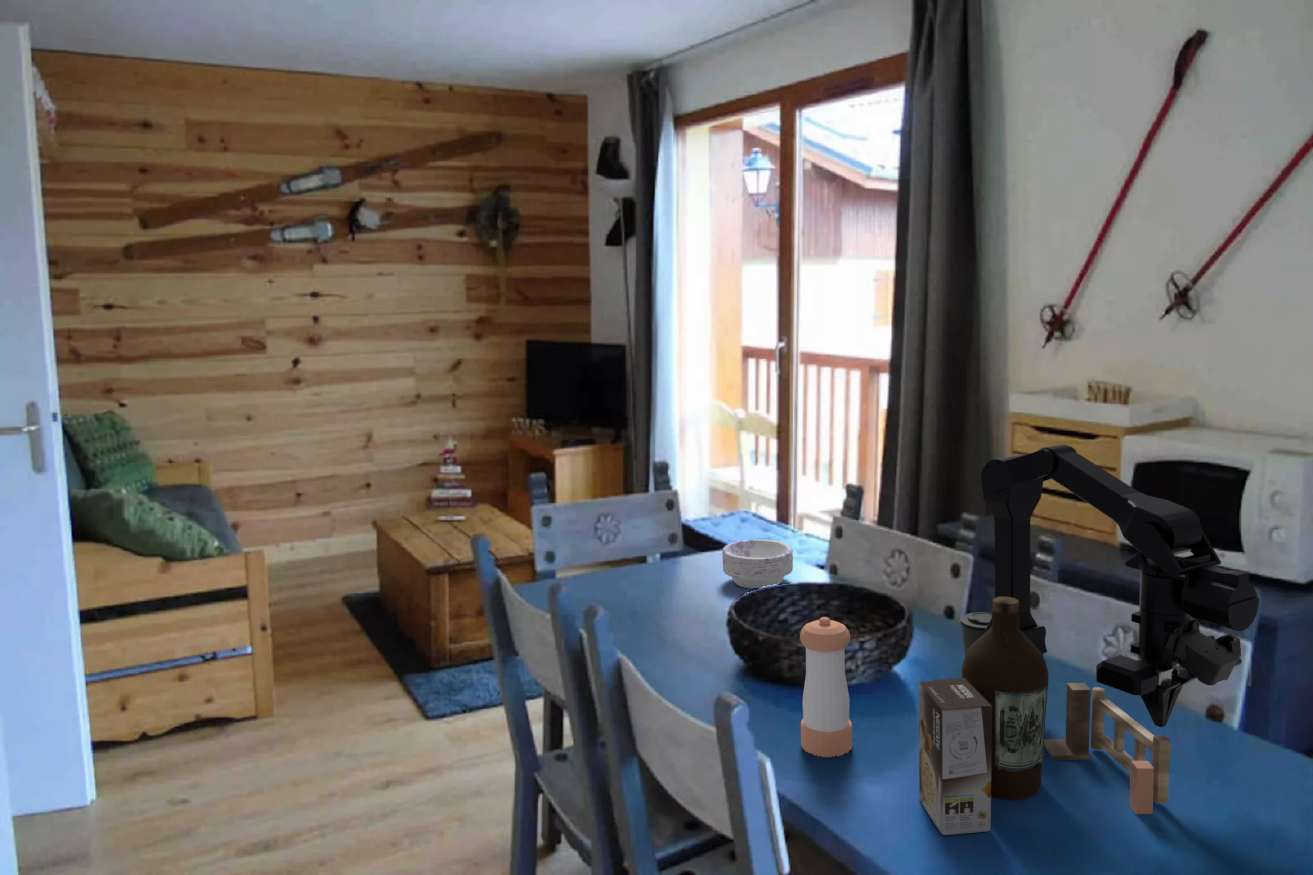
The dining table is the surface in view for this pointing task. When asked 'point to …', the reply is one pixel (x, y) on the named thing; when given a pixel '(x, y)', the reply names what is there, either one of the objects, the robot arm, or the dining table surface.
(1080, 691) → the hinge post
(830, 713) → the salt shaker
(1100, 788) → the dining table surface
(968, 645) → the coffee cup
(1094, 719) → the gate
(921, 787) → the coffee box
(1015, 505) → the robot arm
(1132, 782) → the post
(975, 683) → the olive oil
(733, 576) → the white patterned bowl
